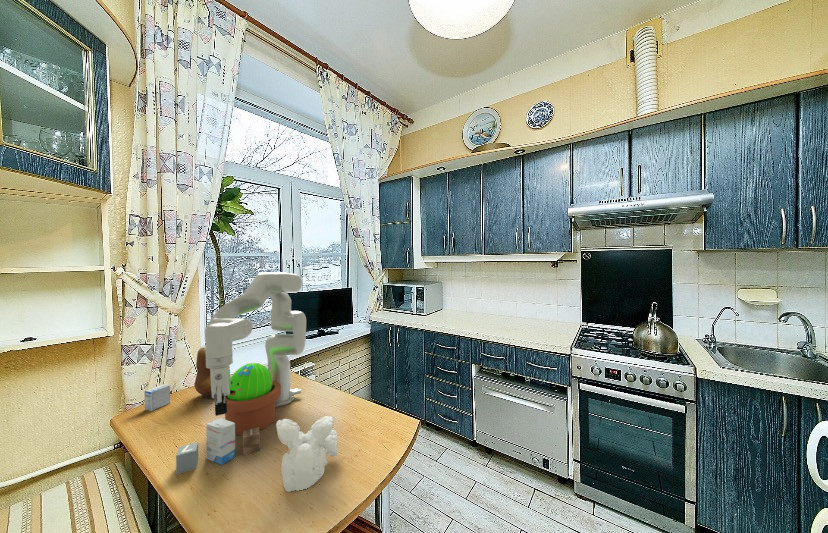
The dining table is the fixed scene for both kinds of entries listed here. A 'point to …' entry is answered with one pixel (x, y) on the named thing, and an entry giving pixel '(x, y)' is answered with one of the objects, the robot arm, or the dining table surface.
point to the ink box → (220, 441)
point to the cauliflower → (305, 452)
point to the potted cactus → (252, 398)
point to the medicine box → (157, 397)
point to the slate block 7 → (187, 458)
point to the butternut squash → (203, 375)
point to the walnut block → (251, 441)
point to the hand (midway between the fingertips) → (221, 413)
